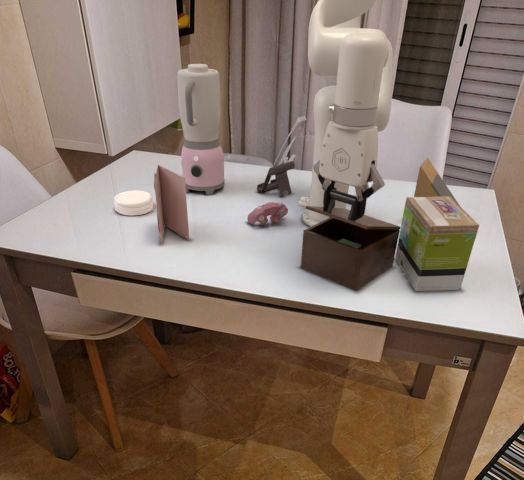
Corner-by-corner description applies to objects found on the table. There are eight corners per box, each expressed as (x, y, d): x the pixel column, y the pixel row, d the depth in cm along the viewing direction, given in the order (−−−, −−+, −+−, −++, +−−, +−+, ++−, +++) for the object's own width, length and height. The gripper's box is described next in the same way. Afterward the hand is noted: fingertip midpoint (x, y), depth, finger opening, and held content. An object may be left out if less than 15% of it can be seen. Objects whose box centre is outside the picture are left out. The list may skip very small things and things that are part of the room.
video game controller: (251, 233, 127) (257, 214, 121) (244, 219, 128) (250, 200, 122) (285, 226, 130) (292, 207, 124) (278, 213, 132) (285, 194, 126)
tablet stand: (277, 185, 151) (278, 156, 146) (296, 191, 147) (298, 162, 142) (256, 192, 146) (257, 163, 141) (276, 199, 142) (277, 169, 136)
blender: (191, 179, 154) (183, 60, 134) (229, 182, 152) (227, 63, 132) (173, 196, 142) (161, 69, 122) (214, 201, 140) (209, 72, 120)
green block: (327, 266, 108) (329, 245, 105) (340, 258, 111) (342, 238, 108) (346, 274, 106) (349, 252, 102) (359, 266, 109) (362, 245, 105)
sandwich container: (469, 236, 124) (486, 175, 115) (407, 224, 129) (419, 165, 120) (473, 223, 130) (490, 165, 121) (414, 213, 135) (426, 156, 126)
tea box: (392, 258, 113) (405, 195, 104) (435, 257, 114) (451, 194, 105) (414, 292, 102) (430, 224, 93) (461, 291, 102) (482, 223, 93)
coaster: (108, 212, 132) (105, 199, 130) (129, 200, 139) (127, 187, 137) (140, 218, 129) (138, 205, 127) (160, 205, 136) (159, 193, 134)
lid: (366, 229, 93) (374, 202, 91) (305, 208, 101) (311, 183, 99) (399, 229, 105) (407, 205, 103) (342, 210, 112) (348, 188, 110)
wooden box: (356, 291, 102) (362, 252, 96) (300, 267, 109) (303, 230, 104) (392, 266, 110) (400, 229, 105) (338, 246, 118) (342, 211, 113)
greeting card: (161, 225, 126) (154, 164, 117) (190, 224, 127) (186, 164, 117) (157, 244, 117) (149, 181, 108) (189, 244, 118) (184, 180, 108)
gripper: (303, 111, 90) (297, 207, 101) (386, 128, 81) (370, 232, 92) (327, 105, 95) (319, 198, 106) (408, 121, 86) (390, 220, 97)
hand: (342, 213), depth 99 cm, fingers closed on lid, 6 cm apart
